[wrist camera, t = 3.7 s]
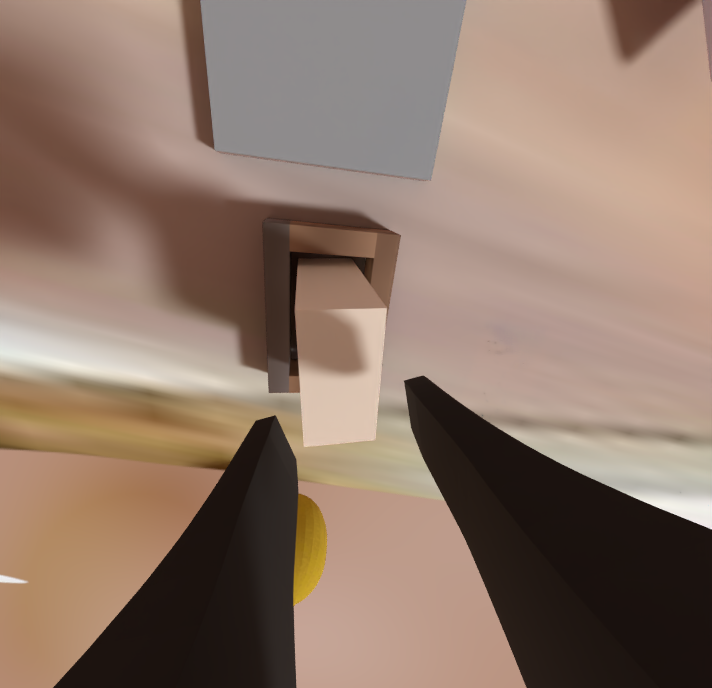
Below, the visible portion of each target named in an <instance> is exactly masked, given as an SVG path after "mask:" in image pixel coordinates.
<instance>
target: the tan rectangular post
mask: <svg viewBox="0 0 712 688" xmlns="http://www.w3.org/2000/svg"><path fill="white" fill-rule="evenodd" d="M386 314H387V307H386V306H385V305H384V303H383V302H382V300H381V299H380V298H379V296H378V295H377V293H376V292H375V291H374V289H373V288H372V286H371V285H370V284H369V282H368V281H367V279H366V278H365V277H364V275H363V274H362V272H361V271H360V270H359V268H358V267H357V265H356V264H355V262H354V261H353V260H352V258H298V269H297V284H296V300H295V321H296V336H297V351H298V366H299V380H300V395H301V410H302V425H303V440H304V447H310V446H320V445H330V444H341V443H351V442H361V441H371V440H375V435H376V424H377V413H378V402H379V391H380V380H381V369H382V358H383V347H384V336H385V325H386Z"/></svg>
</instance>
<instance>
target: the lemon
mask: <svg viewBox="0 0 712 688" xmlns="http://www.w3.org/2000/svg"><path fill="white" fill-rule="evenodd" d="M326 549H327V532H326V525H325V522H324V519H323V516H322V513H321V511H320V509H319V507H318V506H317V505H316V504H315V502H314V501H312V500H311V499H310V498H308V497H307V496H305V495H302V494H298V511H297V530H296V548H295V565H294V592H293V606H294V605H295V604H297V603H299V602H301V601H302V600H303V599H305V598H306V597H307V596H308V595H309V594H310V593H311V592H312V590H313V589H314V588H315V586H316V585H317V583H318V581H319V579H320V577H321V575H322V572H323V569H324V565H325V559H326Z"/></svg>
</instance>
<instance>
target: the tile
mask: <svg viewBox="0 0 712 688" xmlns="http://www.w3.org/2000/svg"><path fill="white" fill-rule="evenodd" d="M200 3H201V13H202V24H203V34H204V45H205V55H206V65H207V76H208V86H209V97H210V107H211V117H212V128H213V138H214V149H215V151H217V152H219V153H223V154H231V155H238V156H245V157H252V158H260V159H267V160H274V161H282V162H289V163H296V164H303V165H311V166H318V167H325V168H333V169H340V170H347V171H354V172H362V173H369V174H376V175H384V176H391V177H398V178H405V179H413V180H420V181H431V178H432V173H433V168H434V163H435V157H436V152H437V147H438V142H439V137H440V132H441V127H442V122H443V117H444V112H445V107H446V101H447V96H448V91H449V86H450V81H451V76H452V71H453V66H454V61H455V56H456V51H457V46H458V40H459V35H460V30H461V25H462V20H463V15H464V10H465V5H466V0H200Z"/></svg>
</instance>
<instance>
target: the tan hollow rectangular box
mask: <svg viewBox="0 0 712 688" xmlns="http://www.w3.org/2000/svg"><path fill="white" fill-rule="evenodd" d="M400 237H401V235H399V234H397V233H395V232H393V231H390V230H381V229H371V228H361V227H351V226H341V225H331V224H321V223H311V222H301V221H291V220H281V219H271V218H267V219H265V220H264V221H263V249H264V277H265V304H266V331H267V359H268V386H269V393H300V380H299V366H298V359H290V346H291V251H293V252H305V253H318V254H330V255H343V256H355V257H366V260H365V269H364V277H365V278H366V279H367V281H368V282H369V284H370V285H371V286H372V288H373V289H374V291H375V292H376V293H377V295H378V296H379V298H380V299H381V300H382V302H383V303H384V305H385V306H386V307H387V314H386V321H387V315H388V309H389V303H390V297H391V291H392V285H393V279H394V273H395V267H396V261H397V255H398V249H399V243H400ZM385 327H386V325H385Z"/></svg>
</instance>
